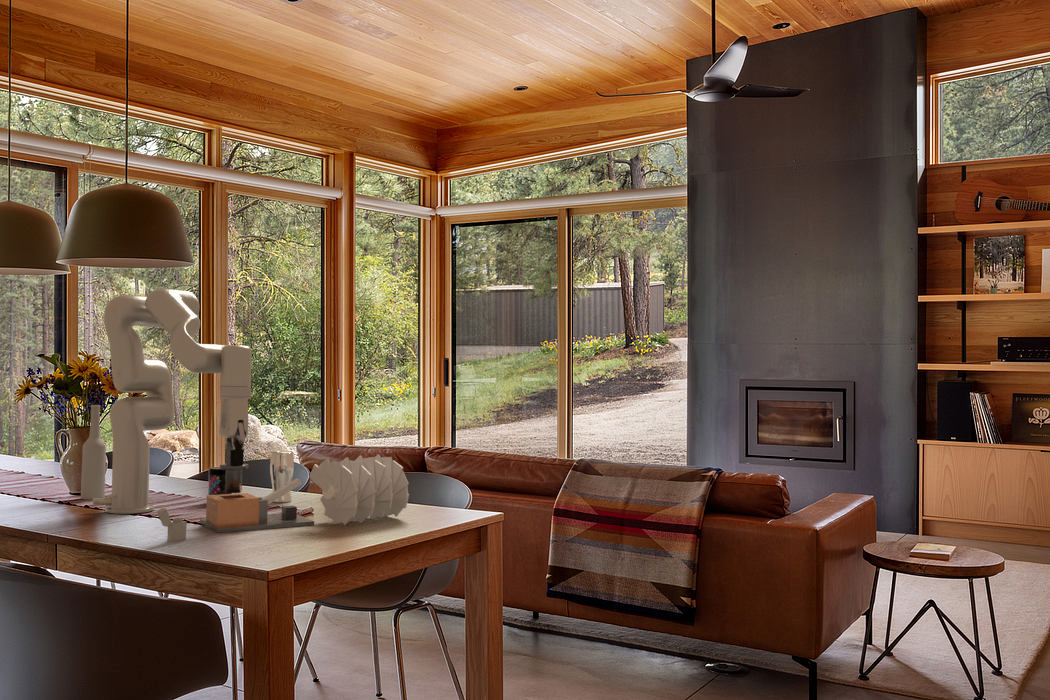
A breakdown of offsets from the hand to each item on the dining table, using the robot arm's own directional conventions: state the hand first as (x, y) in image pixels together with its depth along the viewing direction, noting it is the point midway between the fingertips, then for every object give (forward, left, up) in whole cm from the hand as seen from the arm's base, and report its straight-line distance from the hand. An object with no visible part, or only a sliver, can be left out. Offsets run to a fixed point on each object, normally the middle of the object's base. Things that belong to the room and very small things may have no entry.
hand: (234, 463), depth 238 cm
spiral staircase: (+33, -7, -16) cm, 37 cm away
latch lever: (+13, 0, -9) cm, 15 cm away
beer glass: (+25, +36, -16) cm, 47 cm away
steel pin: (0, 0, -7) cm, 7 cm away
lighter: (-18, -14, -16) cm, 28 cm away
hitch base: (+5, 0, -16) cm, 17 cm away
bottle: (-23, +66, -16) cm, 72 cm away
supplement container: (+8, +41, -16) cm, 45 cm away
